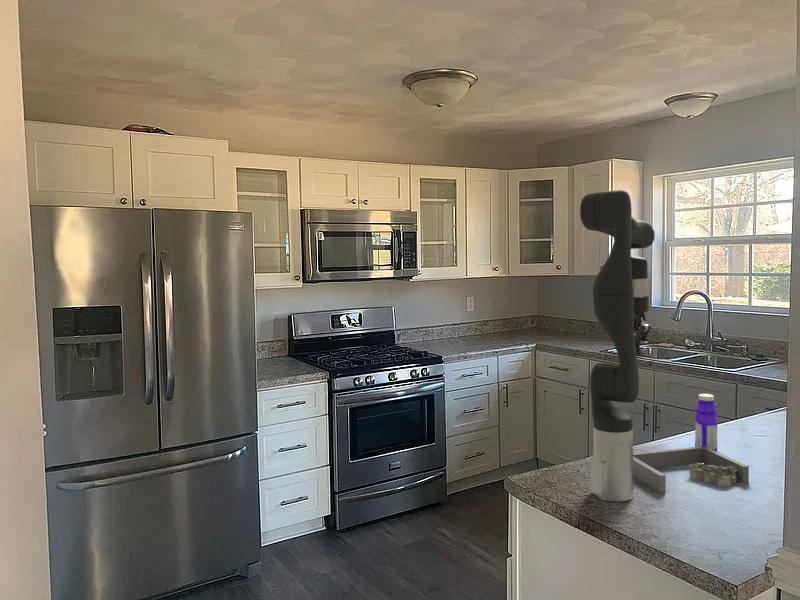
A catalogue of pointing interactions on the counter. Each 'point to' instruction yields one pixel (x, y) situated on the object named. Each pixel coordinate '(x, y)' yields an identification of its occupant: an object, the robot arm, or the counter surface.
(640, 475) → the box
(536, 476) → the counter surface
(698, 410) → the bottle
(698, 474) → the egg carton
